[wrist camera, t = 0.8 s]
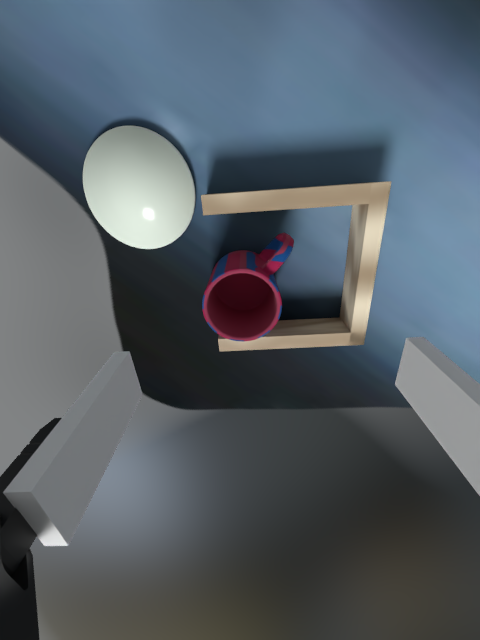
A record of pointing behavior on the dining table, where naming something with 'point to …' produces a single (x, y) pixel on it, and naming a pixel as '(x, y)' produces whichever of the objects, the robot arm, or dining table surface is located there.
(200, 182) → the dining table surface
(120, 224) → the white round flat disc
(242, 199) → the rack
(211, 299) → the mug
